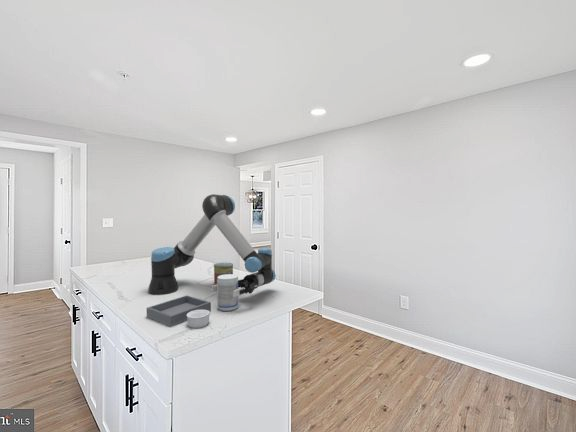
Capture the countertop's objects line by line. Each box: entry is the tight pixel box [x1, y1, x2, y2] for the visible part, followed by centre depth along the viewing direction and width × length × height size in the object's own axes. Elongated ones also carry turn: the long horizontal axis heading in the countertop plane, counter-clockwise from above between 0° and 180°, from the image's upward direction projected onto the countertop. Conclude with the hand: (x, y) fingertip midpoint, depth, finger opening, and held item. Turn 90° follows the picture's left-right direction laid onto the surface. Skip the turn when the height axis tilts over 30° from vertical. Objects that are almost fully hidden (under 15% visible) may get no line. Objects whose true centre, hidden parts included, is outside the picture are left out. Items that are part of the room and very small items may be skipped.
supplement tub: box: [216, 273, 239, 312], centre depth 129 cm, size 10×10×15 cm
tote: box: [146, 295, 212, 327], centre depth 122 cm, size 17×20×4 cm
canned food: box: [213, 262, 234, 285], centre depth 169 cm, size 11×11×12 cm
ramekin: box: [187, 310, 211, 329], centre depth 112 cm, size 9×9×4 cm
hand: (222, 291), depth 126 cm, fingers open, 13 cm apart
